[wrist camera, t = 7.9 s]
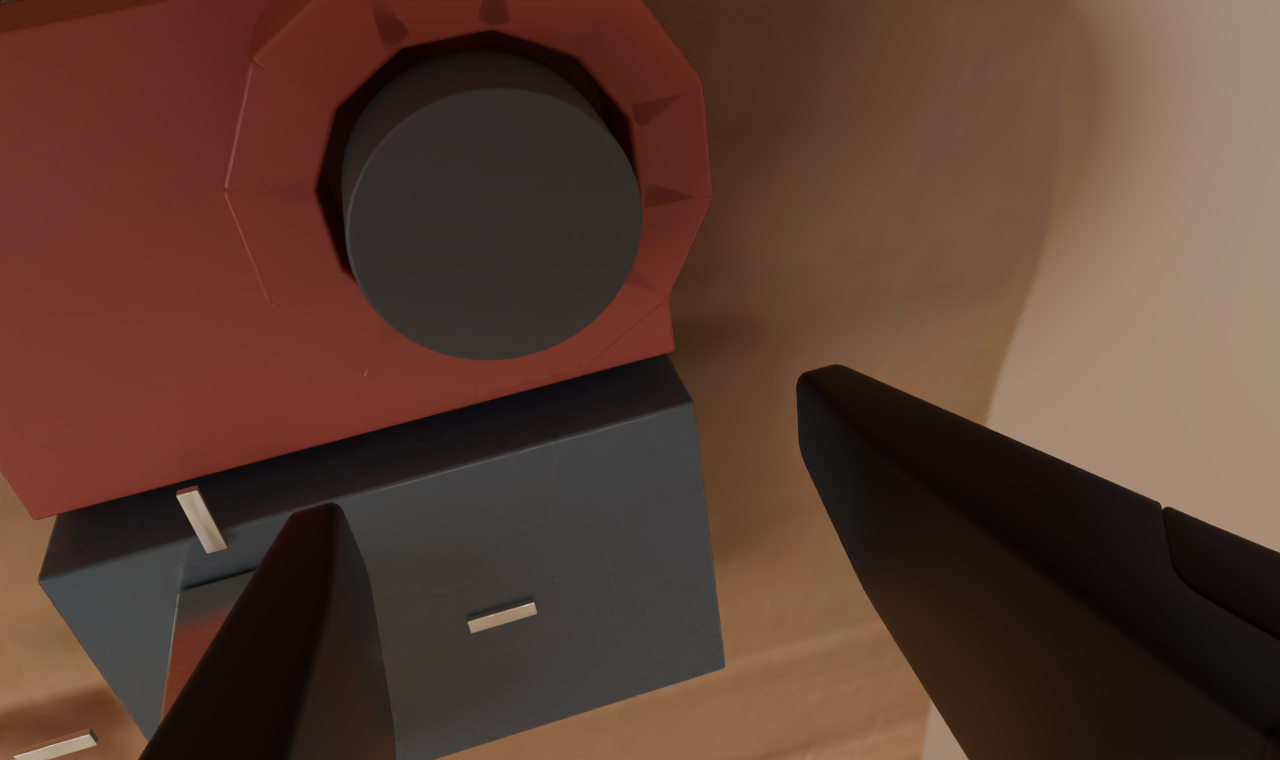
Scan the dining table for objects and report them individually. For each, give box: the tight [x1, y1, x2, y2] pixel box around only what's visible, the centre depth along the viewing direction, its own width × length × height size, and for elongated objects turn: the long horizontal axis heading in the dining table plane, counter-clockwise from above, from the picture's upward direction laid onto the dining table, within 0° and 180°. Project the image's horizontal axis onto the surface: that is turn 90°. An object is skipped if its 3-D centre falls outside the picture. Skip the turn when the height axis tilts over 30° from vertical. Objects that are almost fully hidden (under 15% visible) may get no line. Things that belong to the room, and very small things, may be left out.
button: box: [341, 50, 642, 361], centre depth 14 cm, size 4×4×2 cm
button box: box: [0, 0, 712, 520], centre depth 16 cm, size 12×8×4 cm
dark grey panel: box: [14, 353, 725, 760], centre depth 22 cm, size 14×10×3 cm
